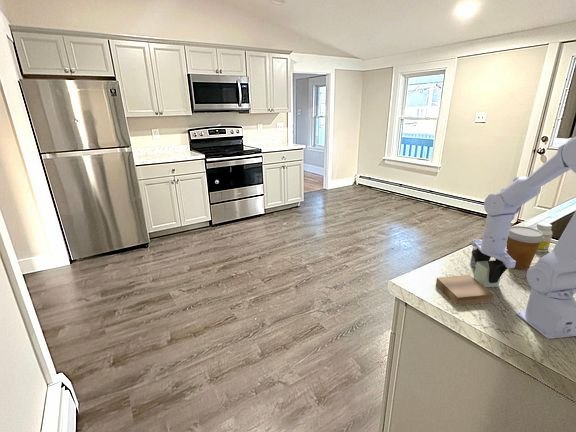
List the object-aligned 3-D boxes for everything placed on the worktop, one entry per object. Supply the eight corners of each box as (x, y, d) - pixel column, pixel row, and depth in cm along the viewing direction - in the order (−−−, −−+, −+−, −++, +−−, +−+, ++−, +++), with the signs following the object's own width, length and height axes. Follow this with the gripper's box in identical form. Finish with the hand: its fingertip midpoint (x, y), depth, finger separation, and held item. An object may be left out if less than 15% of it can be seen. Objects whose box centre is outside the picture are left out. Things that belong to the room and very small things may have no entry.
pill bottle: (489, 269, 97) (494, 245, 95) (472, 268, 98) (477, 244, 96) (483, 262, 102) (487, 239, 99) (467, 261, 103) (472, 238, 100)
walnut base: (492, 302, 81) (493, 294, 81) (456, 305, 81) (458, 297, 80) (467, 282, 91) (468, 274, 90) (435, 285, 90) (436, 277, 89)
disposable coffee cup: (541, 267, 97) (550, 232, 93) (525, 275, 93) (535, 239, 89) (509, 255, 105) (516, 223, 101) (493, 262, 101) (500, 229, 97)
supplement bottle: (549, 253, 106) (556, 228, 102) (530, 250, 108) (536, 225, 105) (545, 247, 110) (552, 222, 107) (527, 245, 112) (533, 220, 109)
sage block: (498, 286, 88) (502, 267, 86) (483, 287, 88) (487, 269, 86) (487, 277, 93) (491, 260, 91) (473, 279, 92) (476, 261, 90)
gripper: (530, 245, 79) (519, 290, 83) (490, 225, 92) (482, 264, 97) (505, 247, 78) (495, 292, 83) (468, 226, 92) (461, 266, 96)
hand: (486, 277), depth 90 cm, fingers closed on sage block, 4 cm apart
